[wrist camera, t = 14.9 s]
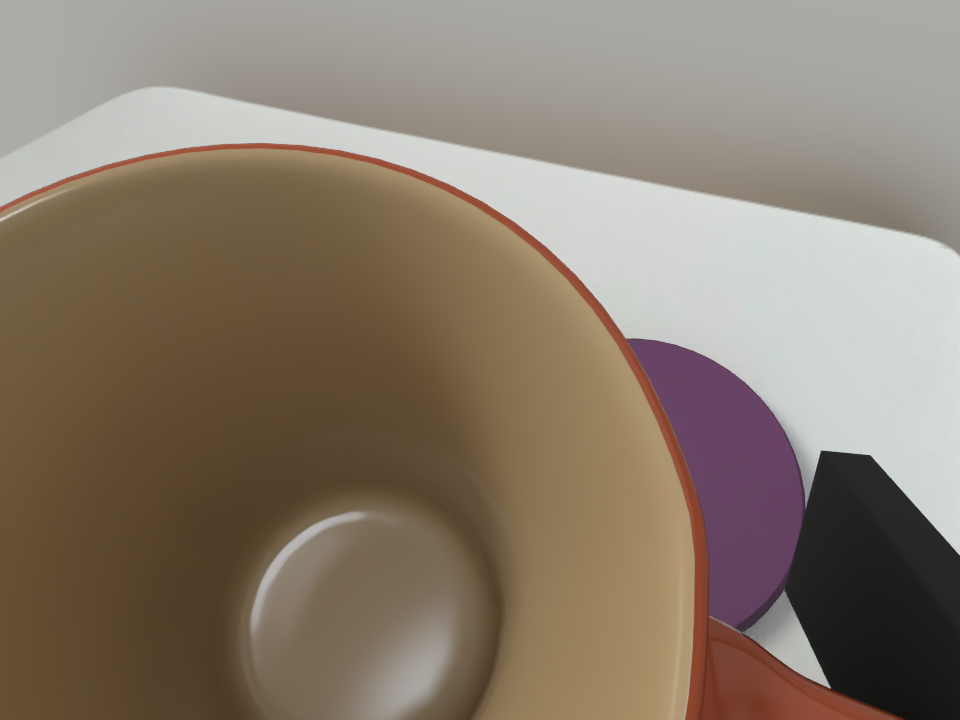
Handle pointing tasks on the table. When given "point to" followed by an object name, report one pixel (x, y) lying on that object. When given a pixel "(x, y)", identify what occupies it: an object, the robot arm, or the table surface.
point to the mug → (338, 464)
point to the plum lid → (732, 477)
